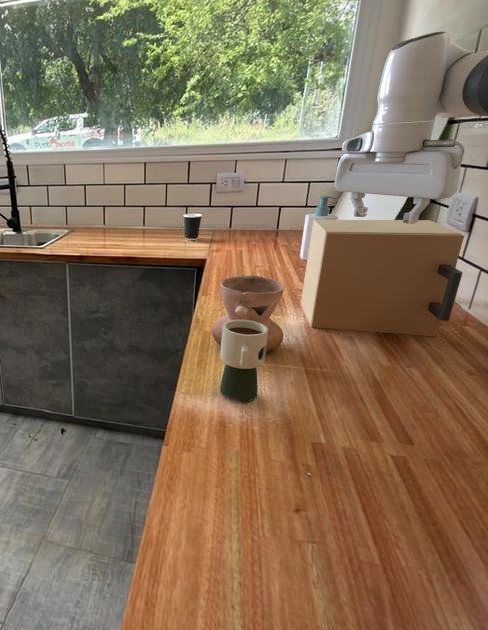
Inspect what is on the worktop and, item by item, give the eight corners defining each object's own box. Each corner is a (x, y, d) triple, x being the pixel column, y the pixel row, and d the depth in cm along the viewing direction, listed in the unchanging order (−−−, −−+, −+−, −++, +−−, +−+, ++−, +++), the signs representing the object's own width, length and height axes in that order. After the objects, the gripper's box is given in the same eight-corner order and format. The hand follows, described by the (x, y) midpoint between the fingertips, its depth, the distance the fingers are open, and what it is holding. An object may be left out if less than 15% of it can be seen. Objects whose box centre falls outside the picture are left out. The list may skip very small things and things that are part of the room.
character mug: (261, 414, 74) (271, 342, 69) (216, 408, 76) (222, 338, 71) (257, 382, 83) (265, 317, 78) (217, 377, 85) (222, 314, 81)
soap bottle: (331, 262, 156) (343, 197, 148) (302, 261, 158) (312, 198, 151) (326, 255, 165) (336, 194, 157) (298, 254, 167) (307, 194, 160)
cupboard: (434, 335, 98) (461, 233, 90) (310, 326, 106) (325, 231, 98) (408, 310, 113) (430, 220, 104) (300, 303, 120) (313, 219, 112)
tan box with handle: (449, 349, 92) (480, 242, 84) (316, 338, 99) (333, 239, 91) (434, 335, 98) (462, 234, 90) (310, 325, 106) (325, 232, 98)
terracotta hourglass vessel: (273, 369, 87) (282, 300, 82) (200, 353, 95) (204, 290, 90) (288, 335, 101) (297, 275, 96) (223, 324, 109) (228, 268, 104)
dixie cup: (203, 240, 197) (205, 215, 193) (187, 242, 196) (188, 217, 192) (195, 237, 204) (196, 213, 200) (179, 239, 203) (180, 214, 199)
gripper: (479, 138, 71) (457, 225, 76) (358, 141, 89) (346, 211, 94) (454, 140, 69) (432, 229, 74) (335, 142, 87) (324, 215, 92)
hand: (383, 219), depth 84 cm, fingers open, 8 cm apart
